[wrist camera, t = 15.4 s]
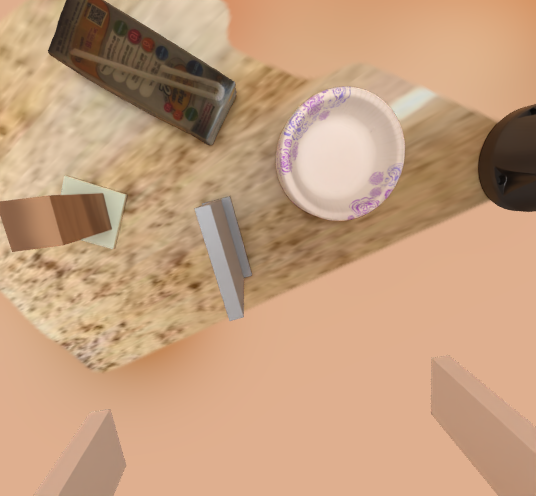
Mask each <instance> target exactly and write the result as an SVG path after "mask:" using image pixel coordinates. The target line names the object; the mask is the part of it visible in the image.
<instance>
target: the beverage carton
mask: <svg viewBox="0 0 536 496" xmlns="http://www.w3.org/2000/svg"><path fill="white" fill-rule="evenodd" d="M48 52H49V54H50V55H51V56H53V57H54V58H56V59H57V60H58V61H60V62H62V63H63V64H65V65H66V66H68V67H69V68H71V69H73V70H74V71H76V72H77V73H79V74H81V75H82V76H84V77H85V78H87V79H89V80H91V81H92V82H94V83H96V84H97V85H99V86H101V87H103V88H104V89H106V90H108V91H110V92H111V93H113V94H115V95H117V96H119V97H120V98H122V99H124V100H126V101H128V102H130V103H131V104H133V105H135V106H137V107H138V108H140V109H142V110H144V111H146V112H148V113H150V114H151V115H153V116H155V117H157V118H159V119H161V120H163V121H165V122H167V123H169V124H171V125H173V126H175V127H177V128H179V129H181V130H183V131H185V132H187V133H189V134H192V135H193V136H194V137H196V138H198V139H199V140H201V141H202V142H204V143H205V144H208V145H213V143H214V141H215V138H216V136H217V134H218V131H219V129H220V127H221V125H222V123H223V121H224V119H225V117H226V115H227V113H228V111H229V109H230V107H231V106H232V104H233V102H234V99H235V97H236V89H235V82H234V81H232V80H231V79H229V78H228V77H226V76H225V75H223V74H222V73H220V72H219V71H218V70H216V69H214V68H212V67H210V66H209V65H208V64H206V63H204V62H203V61H201V60H200V59H198V58H196V57H195V56H193V55H191V54H190V53H188V52H187V51H185V50H184V49H182V48H180V47H179V46H177V45H176V44H174V43H172V42H171V41H169V40H167V39H166V38H164V37H163V36H161V35H160V34H158V33H156V32H155V31H153V30H151V29H150V28H148V27H147V26H145V25H143V24H142V23H140V22H138V21H137V20H135V19H134V18H132V17H130V16H129V15H127V14H125V13H124V12H122V11H120V10H119V9H117V8H115V7H114V6H112V5H111V4H109V3H107V2H106V1H104V0H66V2H65V5H64V8H63V11H62V12H61V15H60V18H59V21H58V25H57V29H56V32H55V34H54V37H53V39H52V41H51V45H50V47H49V50H48Z"/></svg>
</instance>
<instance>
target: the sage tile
mask: <svg viewBox="0 0 536 496" xmlns="http://www.w3.org/2000/svg"><path fill="white" fill-rule="evenodd" d="M95 193H103V194H104V198H105V202H106V206H107V210H108V214H109V219H110V223H111V227H112V230H109V231H106V232H103V233H99V234H96V235H93V236H90V237H87V238H84V239H81V240H82V241H85V242H89V243H93V244H96V245H100V246H103V247H107V248H110V249H115V246H116V242H117V238H118V233H119V229H120V225H121V221H122V216H123V212H124V208H125V203H126V199H127V195H128V194H124V193H121V192H118V191H115V190H112V189H108V188H105V187H102V186H99V185H95V184H92V183H89V182H86V181H83V180H79V179H76V178H73V177H70V176H64V180H63V186H62V191H61V195H74V194H95Z"/></svg>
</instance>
